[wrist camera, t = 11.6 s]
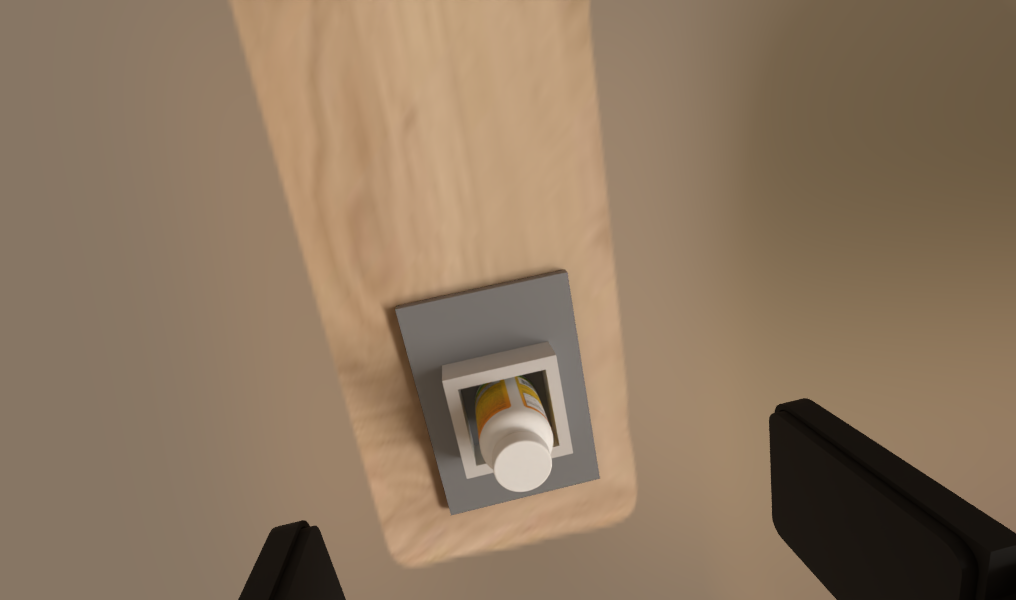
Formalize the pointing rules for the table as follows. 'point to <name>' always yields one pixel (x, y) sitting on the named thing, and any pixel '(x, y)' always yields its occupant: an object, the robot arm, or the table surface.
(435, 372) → the cup holder
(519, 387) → the supplement bottle
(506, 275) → the table surface
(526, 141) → the table surface
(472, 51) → the table surface
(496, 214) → the table surface
